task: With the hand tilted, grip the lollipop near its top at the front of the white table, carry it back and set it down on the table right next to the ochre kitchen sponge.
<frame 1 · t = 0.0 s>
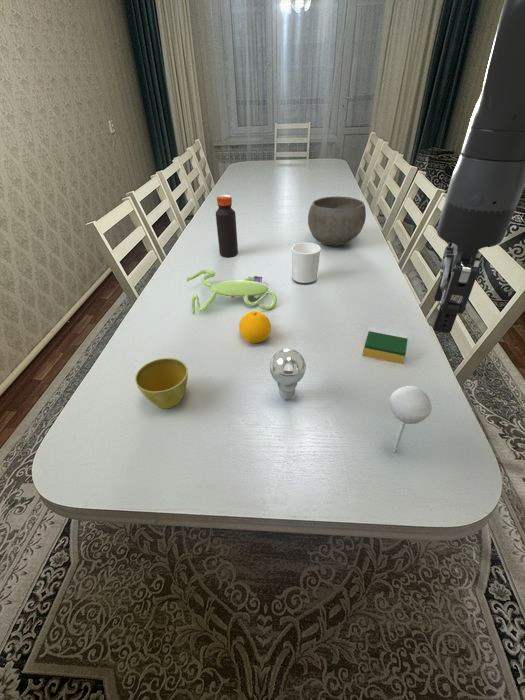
hand: (441, 314, 52), 25 cm above the table, tool pointing down, fingers open, 8 cm apart
bottle: (229, 254, 132), on the table
mug: (306, 278, 116), on the table
lollipop: (393, 452, 64), on the table
figurine: (229, 298, 107), on the table
light bulb: (286, 398, 74), on the table
sponge: (383, 352, 85), on the table
flower pot: (168, 399, 75), on the table
orange: (255, 338, 91), on the table
bowl: (333, 242, 139), on the table
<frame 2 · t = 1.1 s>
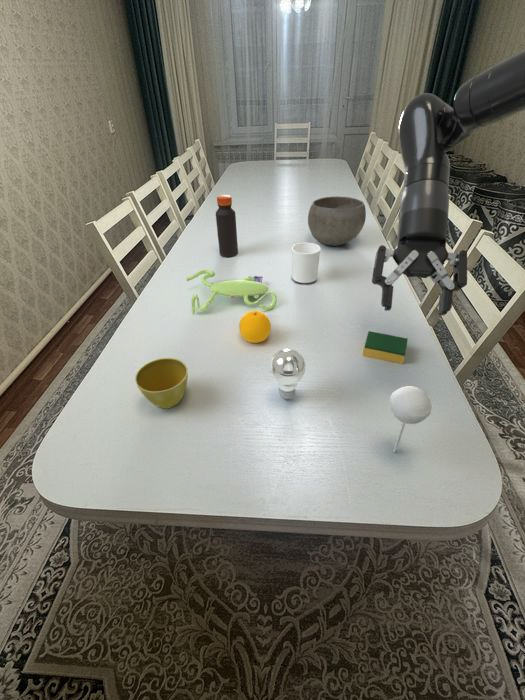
hand: (415, 312, 58), 22 cm above the table, tool tilted 45°, fingers open, 8 cm apart
nothing on the table moved.
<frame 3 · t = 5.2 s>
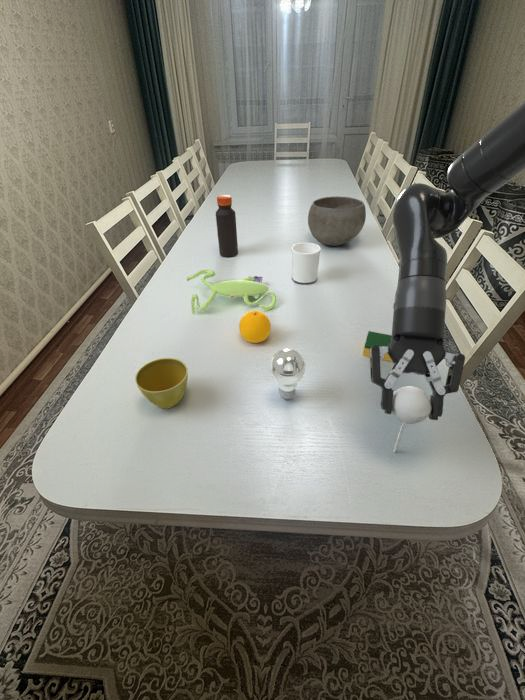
hand: (410, 416, 55), 11 cm above the table, tool tilted 45°, fingers closed on lollipop, 6 cm apart
lollipop: (394, 452, 64), on the table, touching gripper
everything else where it was.
when the fingers open (11 cm above the table, at t = 14.5 s): lollipop moves 7 cm, on the table.
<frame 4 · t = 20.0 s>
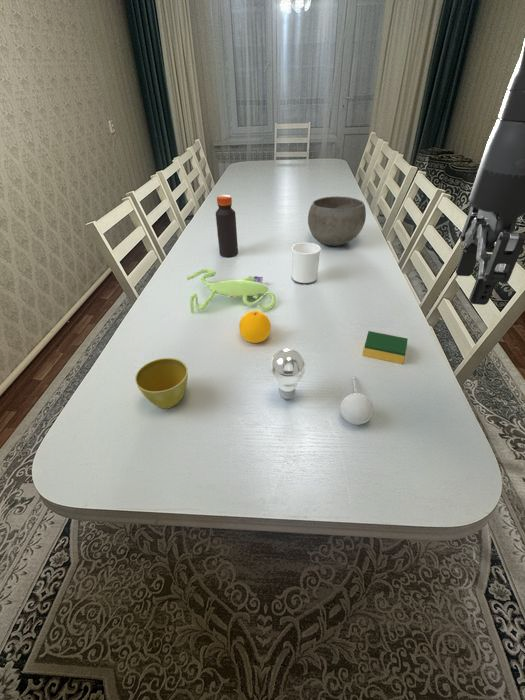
hand: (469, 288, 52), 28 cm above the table, tool pointing down, fingers open, 8 cm apart
lollipop: (353, 376, 78), on the table
everything else where it was.
at the end: lollipop 12.4 cm from the sponge (horizontally); lollipop on the table; the gripper is holding nothing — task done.
